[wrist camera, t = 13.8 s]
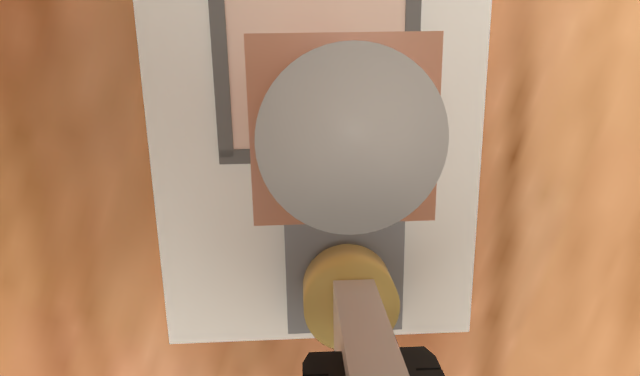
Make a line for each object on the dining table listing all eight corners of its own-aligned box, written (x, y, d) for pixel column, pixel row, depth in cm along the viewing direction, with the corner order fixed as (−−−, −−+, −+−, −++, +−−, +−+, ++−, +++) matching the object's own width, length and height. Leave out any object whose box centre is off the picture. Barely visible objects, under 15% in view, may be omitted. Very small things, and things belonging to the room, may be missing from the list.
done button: (301, 245, 19) (302, 265, 17) (390, 242, 19) (401, 262, 17) (303, 325, 20) (304, 353, 18) (388, 322, 20) (399, 349, 18)
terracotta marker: (274, 54, 19) (234, 27, 7) (359, 52, 19) (468, 24, 7) (277, 139, 19) (247, 249, 8) (359, 138, 20) (456, 242, 8)
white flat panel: (95, -422, 16) (67, -492, 14) (511, -410, 16) (540, -476, 14) (173, 334, 22) (162, 359, 20) (463, 322, 23) (478, 346, 21)
